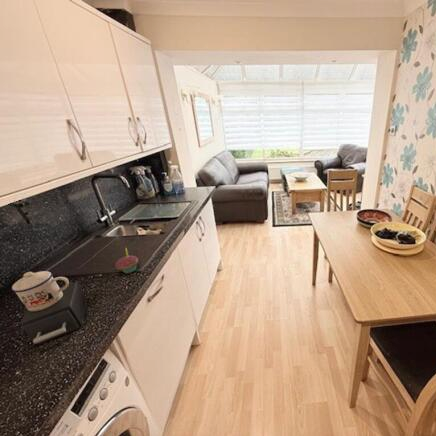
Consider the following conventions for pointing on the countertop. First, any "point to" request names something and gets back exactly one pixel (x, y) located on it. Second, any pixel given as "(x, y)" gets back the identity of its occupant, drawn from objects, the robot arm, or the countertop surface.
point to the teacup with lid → (39, 290)
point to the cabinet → (62, 305)
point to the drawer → (51, 326)
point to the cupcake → (127, 263)
